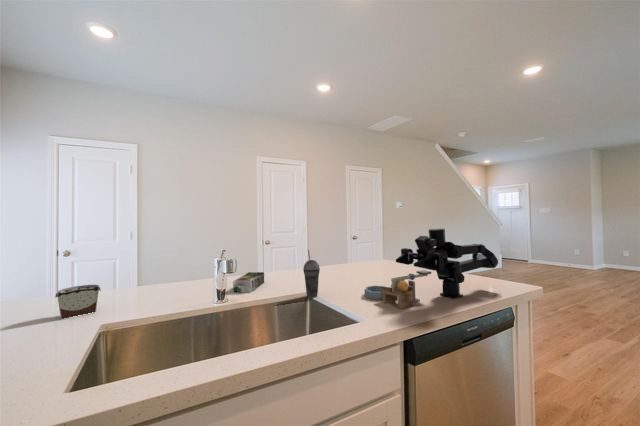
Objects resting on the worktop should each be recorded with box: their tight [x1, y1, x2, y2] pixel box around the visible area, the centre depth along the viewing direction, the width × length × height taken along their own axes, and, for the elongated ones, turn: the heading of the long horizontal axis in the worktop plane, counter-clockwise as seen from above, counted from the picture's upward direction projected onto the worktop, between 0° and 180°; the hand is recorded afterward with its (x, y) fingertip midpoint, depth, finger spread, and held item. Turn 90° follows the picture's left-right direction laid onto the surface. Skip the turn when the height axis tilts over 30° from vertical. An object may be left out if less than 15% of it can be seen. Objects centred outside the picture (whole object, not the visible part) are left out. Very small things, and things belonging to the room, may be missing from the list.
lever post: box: [407, 279, 421, 304], centre depth 104 cm, size 4×4×8 cm
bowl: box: [364, 285, 386, 301], centre depth 112 cm, size 11×11×3 cm
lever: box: [390, 269, 432, 291], centre depth 104 cm, size 19×4×6 cm, turn 117°
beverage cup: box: [302, 249, 321, 299], centre depth 114 cm, size 7×7×20 cm
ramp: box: [380, 284, 415, 309], centre depth 102 cm, size 7×11×7 cm, turn 27°
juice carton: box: [232, 271, 265, 293], centre depth 132 cm, size 20×10×6 cm, turn 174°
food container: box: [54, 284, 101, 320], centre depth 98 cm, size 12×6×10 cm, turn 135°
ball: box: [397, 280, 409, 292], centre depth 99 cm, size 4×4×4 cm
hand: (404, 262), depth 99 cm, fingers open, 9 cm apart
